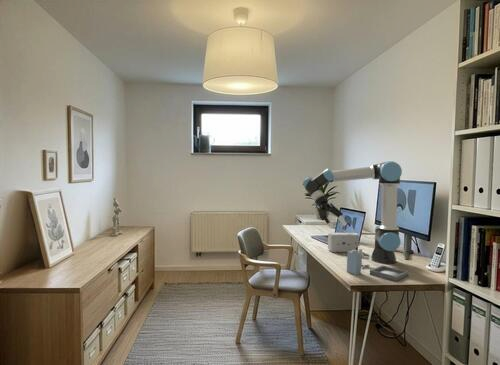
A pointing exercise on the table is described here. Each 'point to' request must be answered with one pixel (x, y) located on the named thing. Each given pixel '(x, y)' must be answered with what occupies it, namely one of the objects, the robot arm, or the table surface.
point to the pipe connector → (363, 256)
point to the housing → (389, 273)
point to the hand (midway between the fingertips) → (339, 226)
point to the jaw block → (354, 262)
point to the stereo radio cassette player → (343, 241)
